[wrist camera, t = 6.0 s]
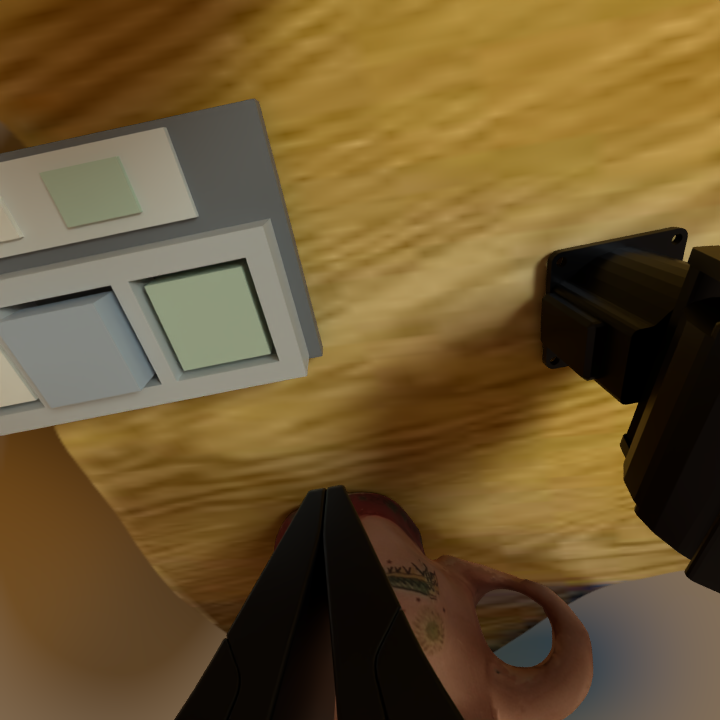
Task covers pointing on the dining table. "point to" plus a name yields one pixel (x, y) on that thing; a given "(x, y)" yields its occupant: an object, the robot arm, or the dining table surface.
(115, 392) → the slate key
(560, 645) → the decorative planter
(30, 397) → the ivory key
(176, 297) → the sage key
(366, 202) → the dining table surface
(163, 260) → the keypad
